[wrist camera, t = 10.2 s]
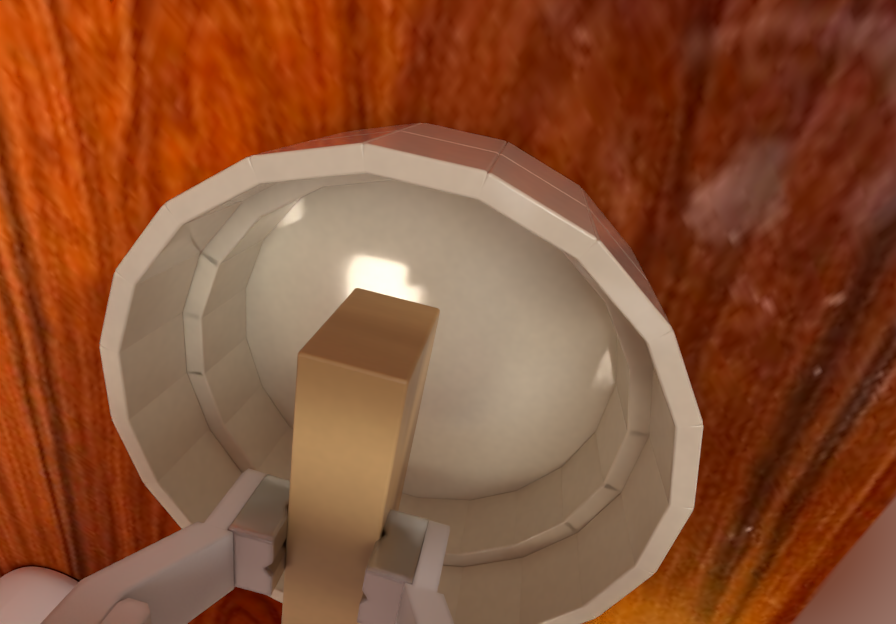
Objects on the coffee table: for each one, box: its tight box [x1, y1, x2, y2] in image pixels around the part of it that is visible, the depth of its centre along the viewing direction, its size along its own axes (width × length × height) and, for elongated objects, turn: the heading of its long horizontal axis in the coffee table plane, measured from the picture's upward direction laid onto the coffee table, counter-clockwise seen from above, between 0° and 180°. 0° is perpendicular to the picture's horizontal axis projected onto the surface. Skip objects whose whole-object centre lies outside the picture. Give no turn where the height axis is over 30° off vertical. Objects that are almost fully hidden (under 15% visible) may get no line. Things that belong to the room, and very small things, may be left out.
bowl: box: [99, 123, 703, 624], centre depth 16 cm, size 16×16×6 cm
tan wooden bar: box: [282, 288, 440, 624], centre depth 12 cm, size 10×2×3 cm, turn 169°
